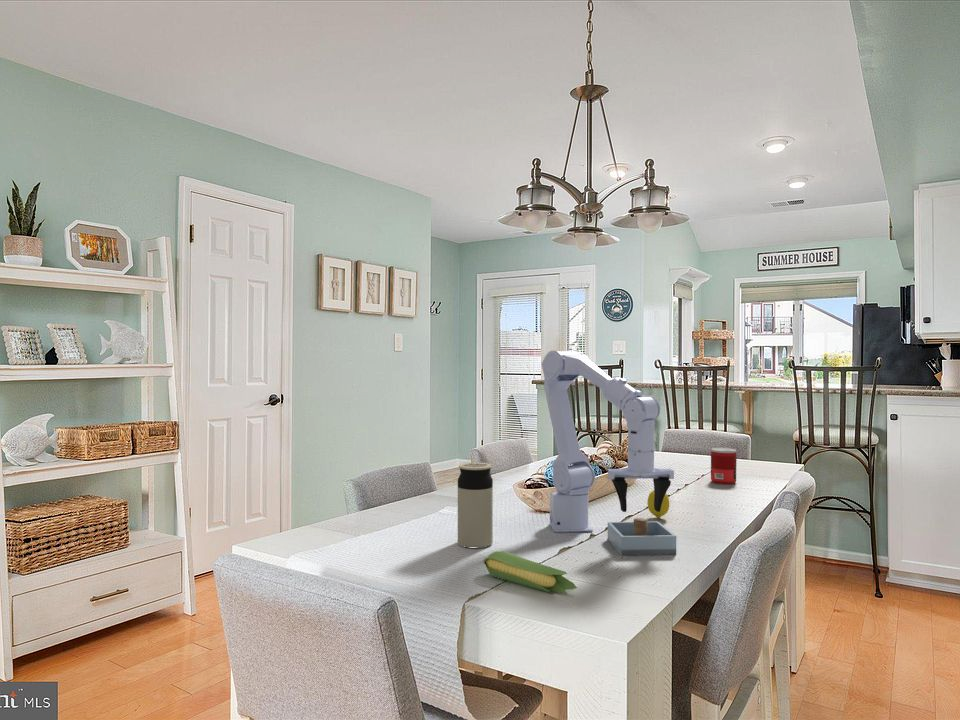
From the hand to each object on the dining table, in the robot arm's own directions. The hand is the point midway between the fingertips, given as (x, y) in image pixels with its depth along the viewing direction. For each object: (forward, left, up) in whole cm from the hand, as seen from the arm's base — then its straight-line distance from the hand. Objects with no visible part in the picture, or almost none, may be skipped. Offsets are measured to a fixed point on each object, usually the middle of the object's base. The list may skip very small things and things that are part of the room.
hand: (640, 510), depth 147 cm
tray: (0, 0, -8) cm, 8 cm away
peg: (0, 0, -8) cm, 8 cm away
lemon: (+12, +24, -8) cm, 28 cm away
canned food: (+49, +69, -8) cm, 85 cm away
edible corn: (-28, -22, -9) cm, 37 cm away
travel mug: (-37, +4, -8) cm, 38 cm away
